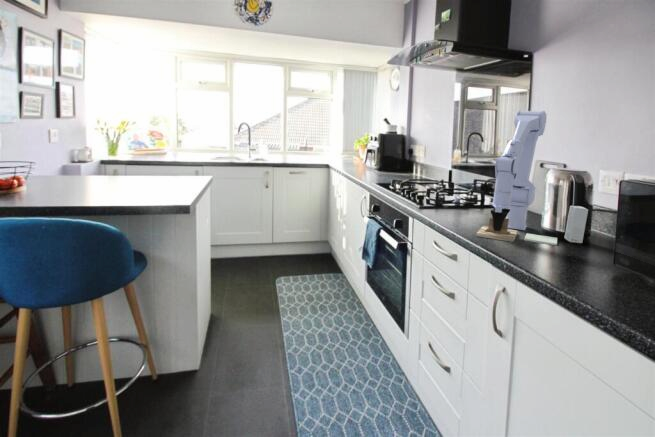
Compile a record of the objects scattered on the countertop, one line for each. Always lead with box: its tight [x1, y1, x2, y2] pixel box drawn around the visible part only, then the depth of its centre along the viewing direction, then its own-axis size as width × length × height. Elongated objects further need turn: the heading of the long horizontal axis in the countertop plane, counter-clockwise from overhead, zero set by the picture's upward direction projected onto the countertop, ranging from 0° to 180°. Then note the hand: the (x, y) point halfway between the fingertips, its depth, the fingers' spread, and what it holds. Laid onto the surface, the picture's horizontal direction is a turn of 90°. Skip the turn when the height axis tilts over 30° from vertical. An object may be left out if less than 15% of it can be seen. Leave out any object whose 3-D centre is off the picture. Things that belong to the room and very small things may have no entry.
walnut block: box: [488, 216, 509, 235], centre depth 157 cm, size 4×6×6 cm, turn 62°
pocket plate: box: [475, 225, 518, 243], centre depth 157 cm, size 14×12×1 cm
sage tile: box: [523, 232, 558, 246], centre depth 154 cm, size 10×10×1 cm
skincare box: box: [564, 205, 589, 244], centre depth 154 cm, size 6×4×12 cm
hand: (497, 229), depth 157 cm, fingers closed on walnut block, 4 cm apart
